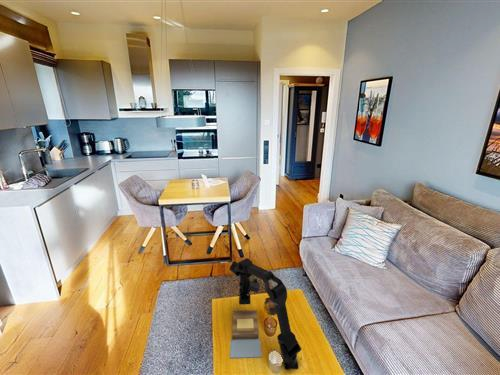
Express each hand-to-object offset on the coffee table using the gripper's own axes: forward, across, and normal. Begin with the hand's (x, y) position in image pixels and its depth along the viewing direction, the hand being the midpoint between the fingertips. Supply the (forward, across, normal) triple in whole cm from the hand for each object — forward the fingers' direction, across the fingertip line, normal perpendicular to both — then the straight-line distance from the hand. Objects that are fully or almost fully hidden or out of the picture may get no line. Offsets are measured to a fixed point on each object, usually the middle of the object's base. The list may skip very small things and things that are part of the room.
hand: (244, 302), depth 141 cm
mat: (+12, -19, 0) cm, 22 cm away
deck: (+12, -6, 0) cm, 13 cm away
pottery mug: (+12, +6, -18) cm, 22 cm away
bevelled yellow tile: (+8, -9, 0) cm, 12 cm away
